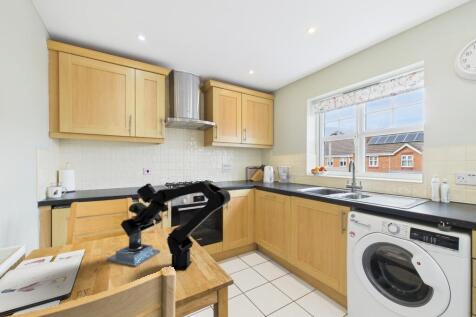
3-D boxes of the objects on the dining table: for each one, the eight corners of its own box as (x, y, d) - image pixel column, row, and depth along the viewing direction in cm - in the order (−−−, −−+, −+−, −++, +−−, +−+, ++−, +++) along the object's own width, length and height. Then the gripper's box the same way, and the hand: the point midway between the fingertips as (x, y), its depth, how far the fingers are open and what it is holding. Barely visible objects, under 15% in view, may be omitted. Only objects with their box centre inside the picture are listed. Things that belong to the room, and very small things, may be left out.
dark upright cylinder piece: (146, 247, 94) (146, 215, 94) (134, 252, 88) (135, 218, 88) (135, 245, 96) (135, 214, 96) (123, 251, 90) (123, 217, 90)
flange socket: (160, 252, 96) (160, 244, 96) (136, 266, 83) (136, 258, 83) (133, 247, 101) (133, 240, 101) (106, 260, 88) (107, 252, 88)
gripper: (156, 193, 100) (139, 215, 103) (124, 200, 82) (103, 225, 86) (170, 211, 97) (151, 232, 101) (139, 222, 80) (118, 247, 83)
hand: (132, 233), depth 93 cm, fingers closed on dark upright cylinder piece, 5 cm apart
